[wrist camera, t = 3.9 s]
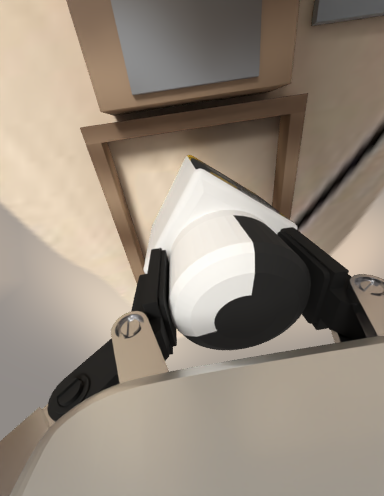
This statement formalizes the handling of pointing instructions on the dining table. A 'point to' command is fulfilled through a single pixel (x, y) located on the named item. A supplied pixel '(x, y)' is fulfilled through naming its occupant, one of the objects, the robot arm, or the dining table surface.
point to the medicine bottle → (226, 261)
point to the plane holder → (187, 79)
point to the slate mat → (345, 10)
